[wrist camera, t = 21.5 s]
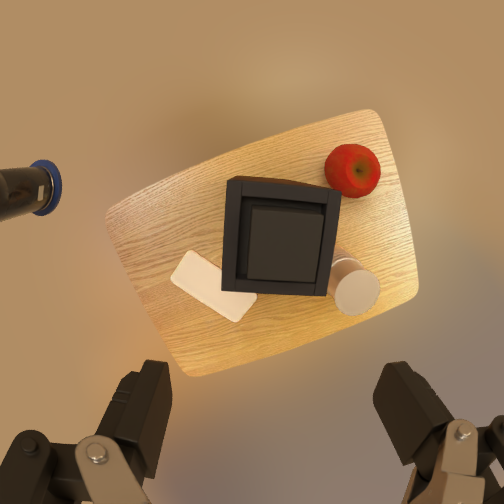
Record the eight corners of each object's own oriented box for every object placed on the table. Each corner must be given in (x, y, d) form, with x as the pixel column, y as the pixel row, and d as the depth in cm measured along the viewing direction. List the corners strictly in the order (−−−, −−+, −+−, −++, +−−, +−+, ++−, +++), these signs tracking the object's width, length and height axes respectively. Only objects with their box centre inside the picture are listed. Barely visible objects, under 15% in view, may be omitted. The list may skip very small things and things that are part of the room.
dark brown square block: (246, 265, 23) (247, 278, 20) (251, 204, 22) (252, 209, 19) (306, 268, 23) (314, 282, 20) (313, 209, 22) (324, 215, 19)
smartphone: (189, 248, 48) (259, 295, 50) (190, 247, 48) (259, 294, 51) (168, 280, 49) (236, 324, 52) (169, 278, 50) (236, 322, 52)
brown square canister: (233, 226, 47) (220, 291, 22) (236, 175, 45) (226, 180, 20) (283, 230, 48) (326, 296, 22) (288, 179, 45) (342, 191, 20)
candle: (325, 284, 51) (352, 325, 37) (301, 259, 49) (324, 295, 35) (352, 259, 50) (389, 292, 35) (329, 233, 48) (363, 258, 34)
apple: (351, 140, 44) (378, 133, 33) (367, 185, 46) (397, 189, 36) (307, 155, 44) (326, 151, 34) (325, 201, 47) (347, 210, 36)
